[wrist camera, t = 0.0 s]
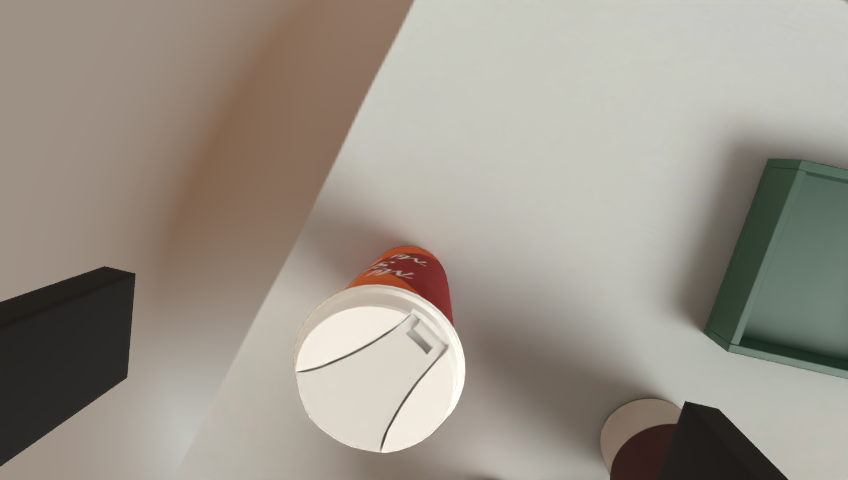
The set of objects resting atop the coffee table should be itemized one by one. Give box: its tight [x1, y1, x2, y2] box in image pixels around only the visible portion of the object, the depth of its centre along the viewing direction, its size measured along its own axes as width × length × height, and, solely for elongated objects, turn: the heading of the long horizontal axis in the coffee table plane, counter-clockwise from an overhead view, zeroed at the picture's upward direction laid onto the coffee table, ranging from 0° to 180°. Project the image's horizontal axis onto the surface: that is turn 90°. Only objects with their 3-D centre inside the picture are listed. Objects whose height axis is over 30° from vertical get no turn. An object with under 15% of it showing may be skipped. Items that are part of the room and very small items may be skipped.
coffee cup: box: [294, 246, 465, 453], centre depth 28 cm, size 8×8×15 cm
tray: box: [704, 159, 848, 379], centre depth 31 cm, size 13×13×3 cm
